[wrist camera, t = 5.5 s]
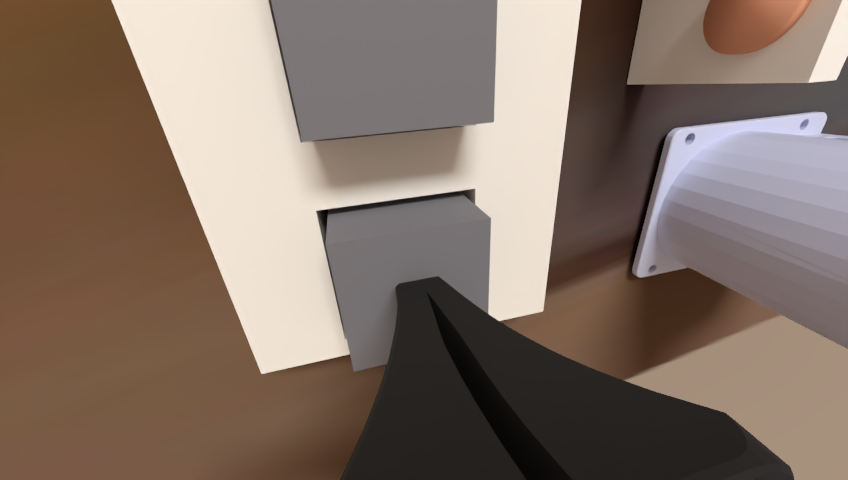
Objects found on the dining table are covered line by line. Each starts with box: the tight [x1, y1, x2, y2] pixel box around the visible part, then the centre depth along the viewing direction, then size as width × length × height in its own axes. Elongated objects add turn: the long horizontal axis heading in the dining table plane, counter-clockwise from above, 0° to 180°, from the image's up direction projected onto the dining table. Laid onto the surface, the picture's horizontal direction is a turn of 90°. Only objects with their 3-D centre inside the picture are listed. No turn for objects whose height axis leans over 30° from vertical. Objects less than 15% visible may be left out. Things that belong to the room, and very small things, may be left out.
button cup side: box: [325, 191, 491, 372], centre depth 11 cm, size 5×5×3 cm
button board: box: [112, 0, 581, 374], centre depth 10 cm, size 12×22×2 cm, turn 4°
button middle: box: [271, 0, 498, 141], centre depth 8 cm, size 5×5×3 cm
